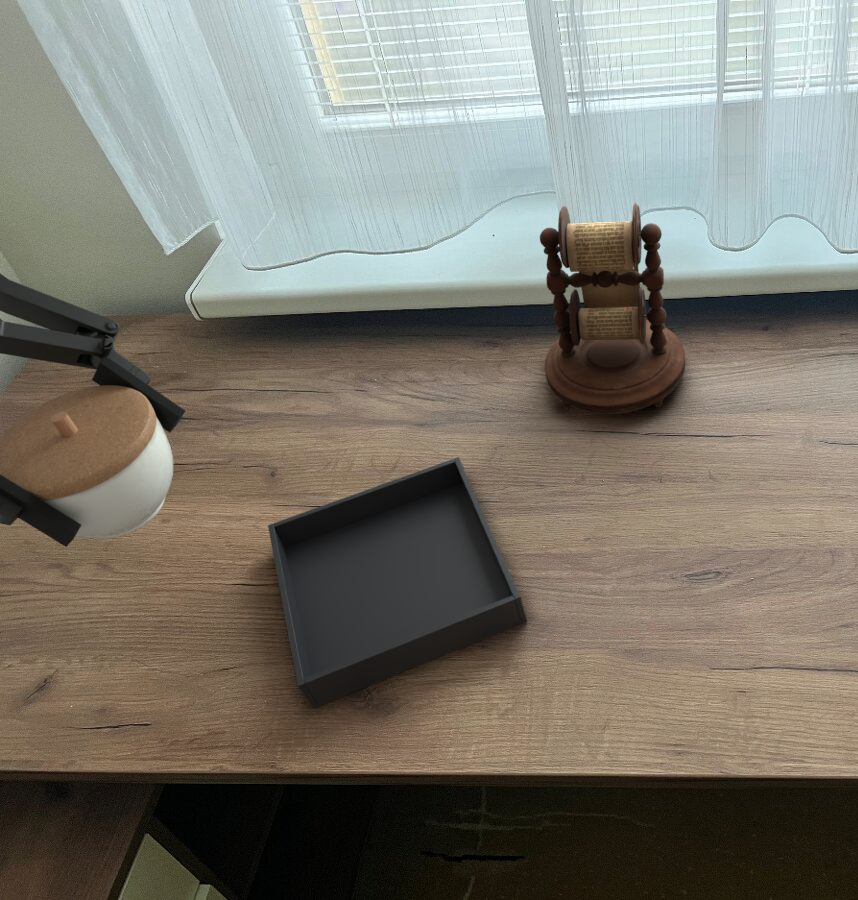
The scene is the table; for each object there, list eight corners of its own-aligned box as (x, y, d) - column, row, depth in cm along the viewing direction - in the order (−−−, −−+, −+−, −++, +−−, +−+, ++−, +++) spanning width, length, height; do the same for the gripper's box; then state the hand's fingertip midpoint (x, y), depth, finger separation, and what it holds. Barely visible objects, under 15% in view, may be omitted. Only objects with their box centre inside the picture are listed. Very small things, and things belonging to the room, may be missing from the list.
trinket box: (221, 461, 69) (168, 368, 62) (150, 569, 61) (82, 477, 55) (101, 455, 71) (38, 364, 64) (19, 559, 63) (-62, 469, 57)
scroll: (687, 333, 98) (680, 165, 84) (684, 424, 87) (676, 249, 73) (557, 336, 100) (529, 173, 86) (538, 425, 89) (504, 256, 75)
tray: (312, 708, 68) (297, 686, 66) (281, 548, 81) (267, 525, 78) (527, 621, 72) (520, 597, 70) (466, 481, 85) (458, 456, 82)
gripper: (-48, 214, 66) (208, 394, 73) (-360, 418, 51) (1, 623, 57) (-37, 150, 61) (237, 350, 68) (-381, 356, 45) (18, 589, 52)
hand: (129, 475), depth 62 cm, fingers closed on trinket box, 11 cm apart
